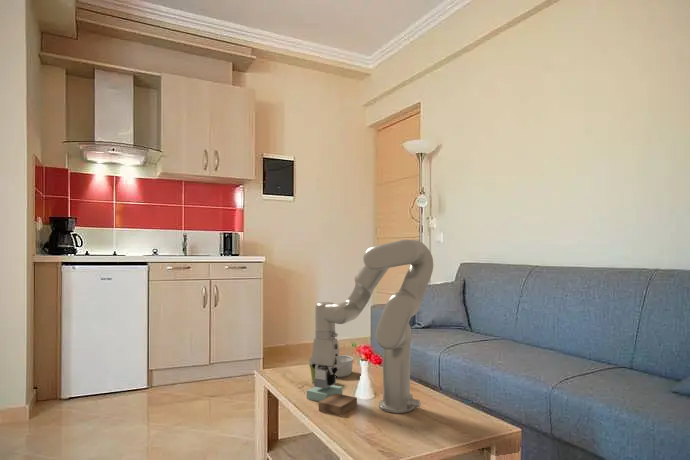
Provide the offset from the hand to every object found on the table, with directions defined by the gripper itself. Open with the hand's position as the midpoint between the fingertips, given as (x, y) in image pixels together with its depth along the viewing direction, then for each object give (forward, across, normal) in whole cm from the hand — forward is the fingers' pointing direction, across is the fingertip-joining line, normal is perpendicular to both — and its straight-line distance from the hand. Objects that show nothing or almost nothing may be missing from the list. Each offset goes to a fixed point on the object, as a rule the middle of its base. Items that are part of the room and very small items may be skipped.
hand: (325, 382), depth 175 cm
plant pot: (+6, +12, -14) cm, 19 cm away
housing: (+1, 0, 0) cm, 1 cm away
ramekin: (+6, +12, -29) cm, 32 cm away
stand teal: (+5, 0, 0) cm, 5 cm away
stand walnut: (+5, -11, +8) cm, 14 cm away
